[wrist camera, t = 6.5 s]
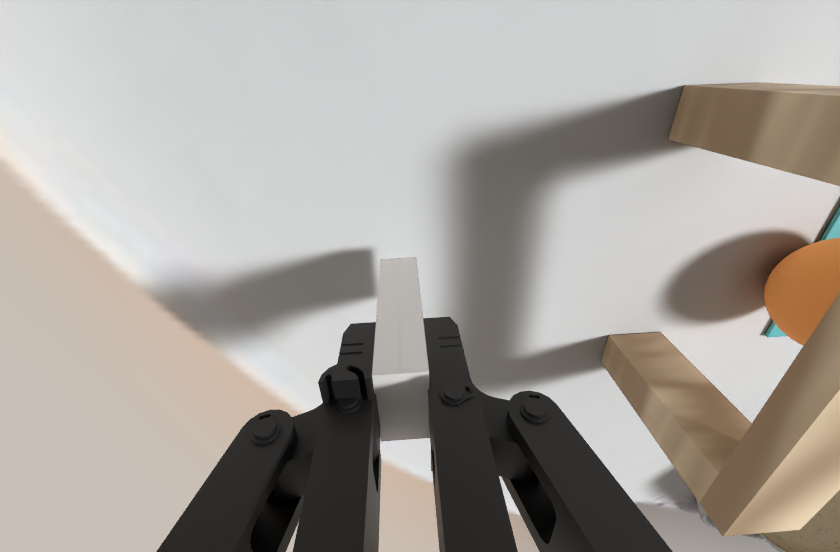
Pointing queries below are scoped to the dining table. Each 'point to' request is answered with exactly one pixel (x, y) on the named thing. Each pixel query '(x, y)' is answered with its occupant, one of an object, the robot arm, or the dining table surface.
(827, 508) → the ceramic mug
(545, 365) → the dining table surface
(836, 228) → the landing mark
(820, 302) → the ball
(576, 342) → the dining table surface
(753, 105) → the bridge
